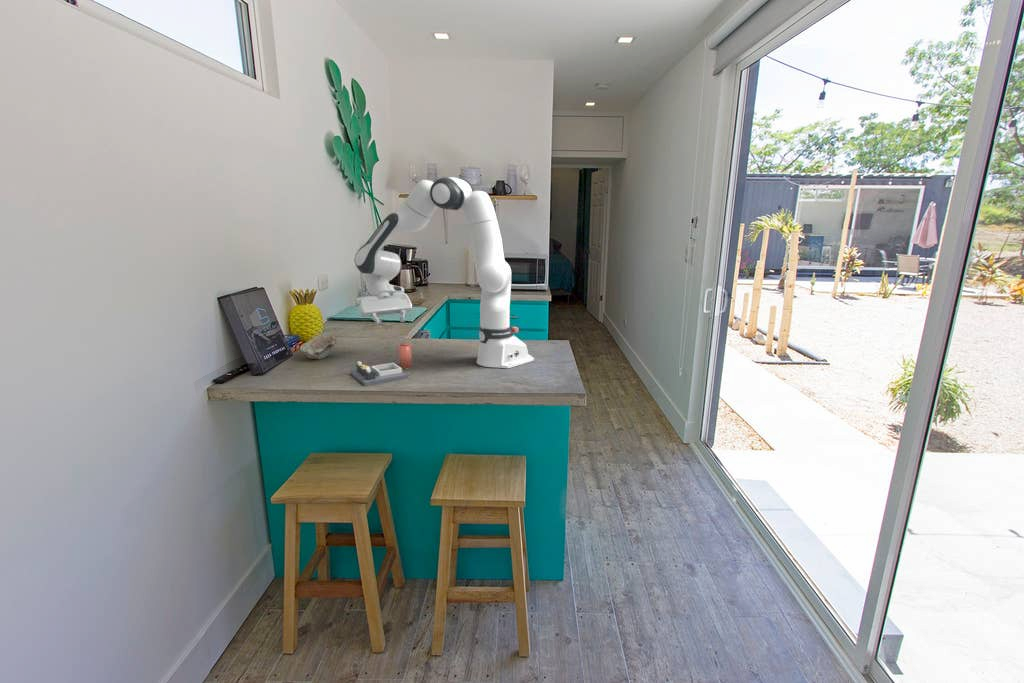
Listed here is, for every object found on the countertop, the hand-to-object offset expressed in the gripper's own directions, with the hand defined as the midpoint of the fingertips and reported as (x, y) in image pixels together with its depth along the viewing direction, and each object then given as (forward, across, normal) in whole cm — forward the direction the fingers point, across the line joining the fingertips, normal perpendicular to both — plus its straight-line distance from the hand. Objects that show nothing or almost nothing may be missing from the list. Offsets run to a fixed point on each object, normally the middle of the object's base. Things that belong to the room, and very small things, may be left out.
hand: (391, 322), depth 193 cm
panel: (+22, -12, -1) cm, 25 cm away
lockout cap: (+19, 0, +2) cm, 19 cm away
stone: (-1, -24, +22) cm, 33 cm away
